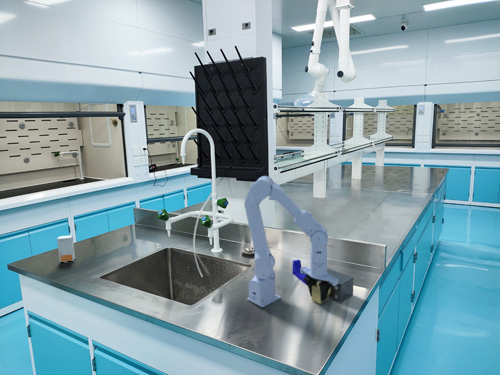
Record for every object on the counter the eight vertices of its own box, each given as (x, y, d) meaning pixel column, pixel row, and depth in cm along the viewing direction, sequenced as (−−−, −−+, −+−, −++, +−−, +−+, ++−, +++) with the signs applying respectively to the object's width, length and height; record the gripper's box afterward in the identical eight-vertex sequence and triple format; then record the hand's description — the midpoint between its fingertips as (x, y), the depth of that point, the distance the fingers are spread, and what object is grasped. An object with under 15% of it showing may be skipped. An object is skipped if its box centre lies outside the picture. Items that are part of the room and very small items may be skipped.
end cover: (322, 304, 119) (322, 289, 118) (309, 299, 123) (309, 283, 122) (339, 294, 126) (340, 279, 125) (326, 289, 130) (326, 274, 129)
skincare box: (59, 263, 162) (56, 239, 160) (61, 260, 166) (58, 236, 164) (73, 261, 164) (70, 237, 161) (75, 258, 168) (72, 234, 165)
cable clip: (317, 284, 136) (317, 269, 135) (307, 286, 134) (307, 271, 133) (301, 272, 147) (301, 258, 146) (292, 274, 145) (292, 260, 144)
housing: (339, 303, 120) (340, 285, 119) (311, 292, 129) (311, 274, 128) (353, 295, 126) (353, 277, 125) (325, 284, 135) (325, 267, 133)
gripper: (343, 263, 116) (342, 301, 119) (308, 252, 127) (308, 287, 129) (331, 270, 112) (330, 308, 114) (296, 258, 122) (296, 293, 125)
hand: (318, 297), depth 121 cm, fingers closed on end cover, 4 cm apart
